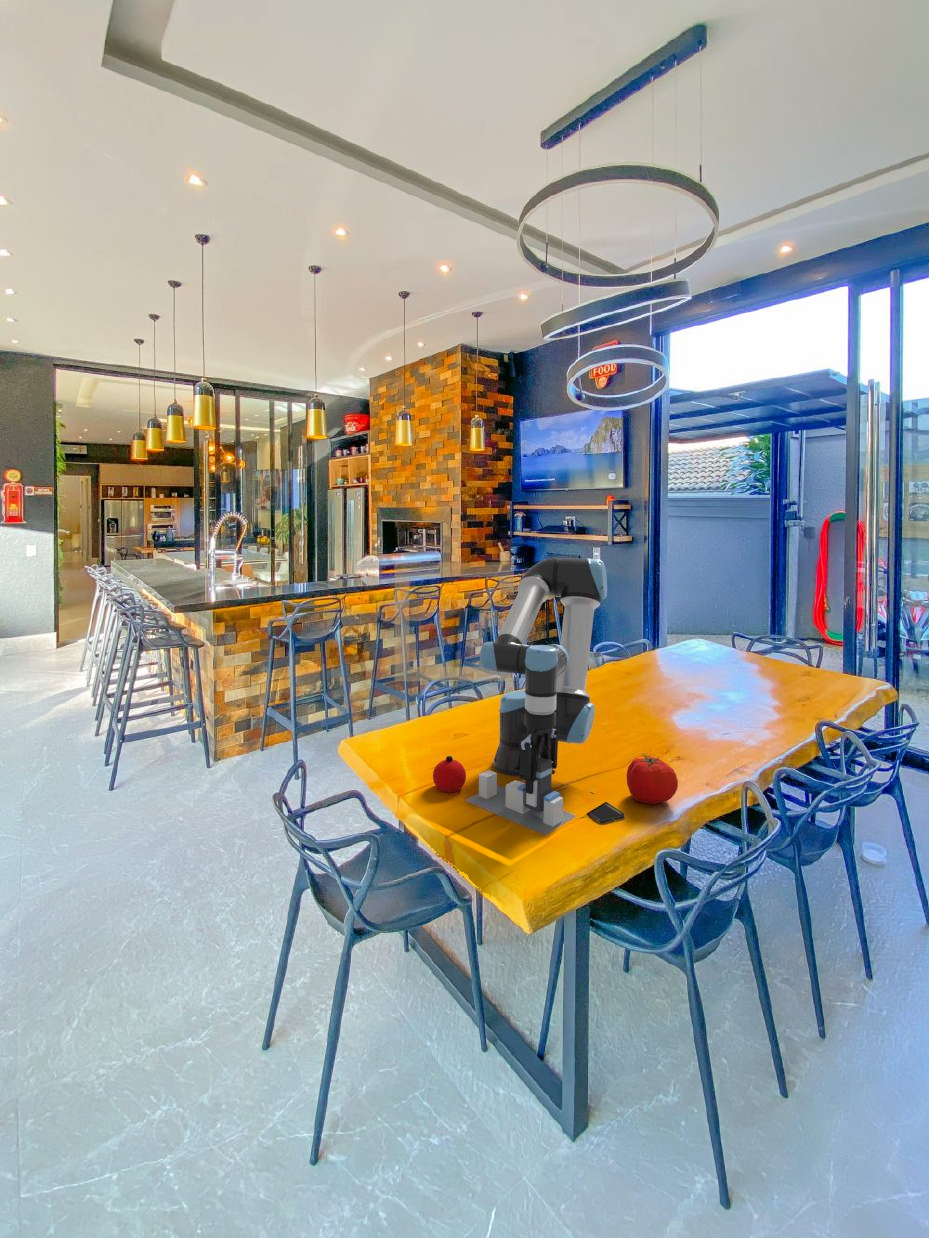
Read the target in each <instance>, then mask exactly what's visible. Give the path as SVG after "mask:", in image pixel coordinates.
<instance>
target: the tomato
mask: <svg viewBox="0 0 929 1238" xmlns="http://www.w3.org/2000/svg"><path fill="white" fill-rule="evenodd" d="M641 754H642V755H643V757H644V758H643V757H642V758H640V757H639V758H638V757H637V758H634V759H632V761H631V762H630V764H628V766H627V770H626V771H627V772H626V785H627V788H628V789H629V793H630V794H631V796H632V797H633V799H634V800H635V801H637V802H639V803H644V804H650V805H655V804H665V803H667V802H668V801H669V800H670V799H672V798H673V796H675V794H676V792H677V791H678V788H679V780H678V776H677V774H676V773H677V772H675V770H674V768H673V767H671V766H670V765H669V764H668V763H666V762H664V761H663V760H662V759H660V758H661V757H662V756H661V757H660V756H659V757H653V756H646V755H645V754H644V753H641Z"/></svg>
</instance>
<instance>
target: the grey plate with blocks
mask: <svg viewBox="0 0 929 1238" xmlns="http://www.w3.org/2000/svg"><path fill="white" fill-rule="evenodd" d="M497 783H498V772H495V771H493V770H491V769H489V770H486V771H484V772H481V773H479V774H478V793H477V794H474V795H472V796H470V797H468V798H466V799H464V801H465V802H468V803H469V804H471V805H473V806H476V807H479V808H481V809H483V810H486V811H488V812H490V813H492V814H494V815H497V816H499V817H501V818H504V819H507V820H509V821H510V822H512V823H513V822H514V823H516V824H518V825H520V826H522V827H524V828H526V829H529V830H532V831H534V832H537V833H539V834H541V835H543V836H546V835H549V834H550V833H551V832H553V831H554V830H556V829H559V827H561V826H563V825H565V824H566V823H568V822H569V821H571V820H573V819H574V818H576V817H577V815H576V814H573V813H571V812H568V811H565V810H564V797H562V796H561V793H560V792H557V791H556V790H554V791H551V793H550V794H548V795H546V796H544V811H542V812H540V813H539V812H536V811H534V810H531V809H529V808H526V807H525V782H522V781H519V780H518V779H517V780H516V779H515V780H513V781H511V782H509V783H507V784H505V787H504V786H501V785H499V784H497ZM561 829H562V828H561ZM561 829H559V831H560V830H561ZM547 838H549V837H547Z"/></svg>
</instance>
